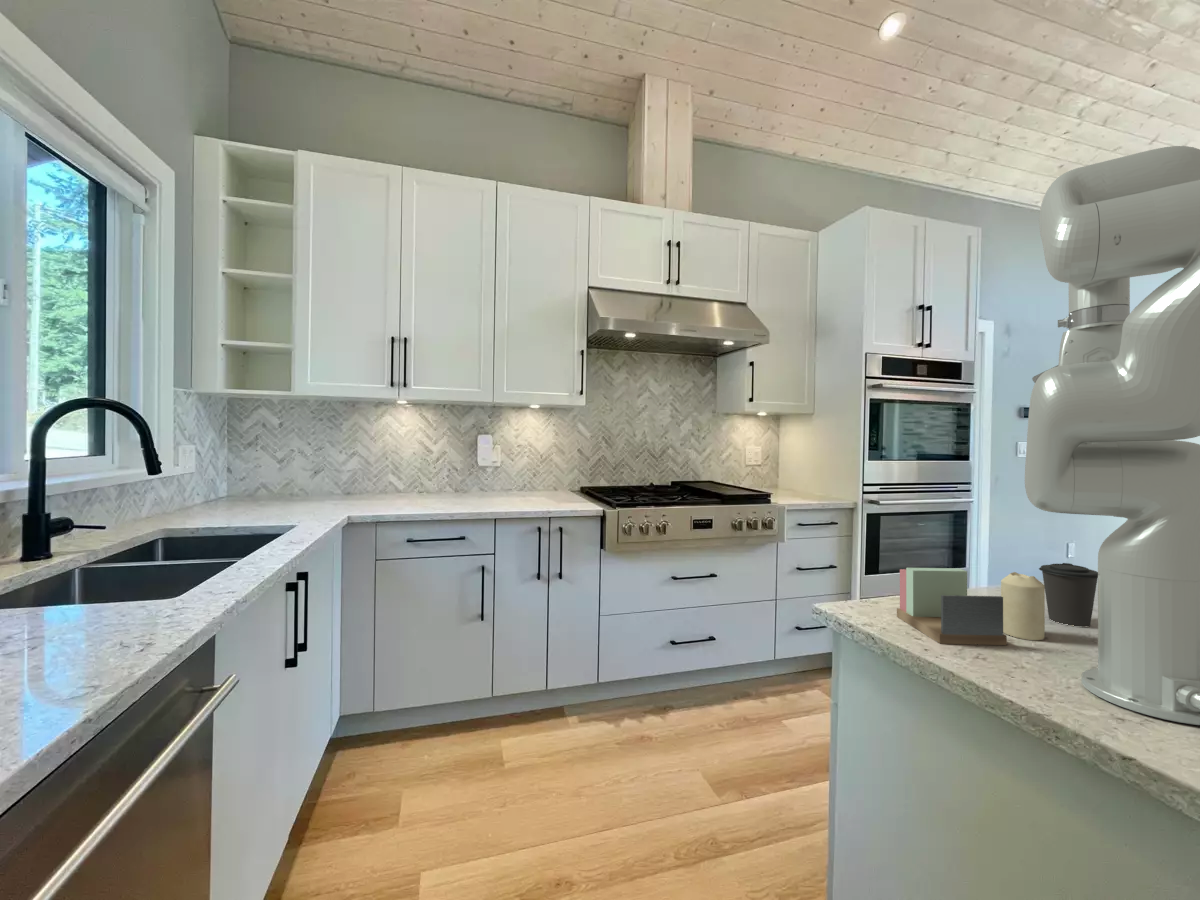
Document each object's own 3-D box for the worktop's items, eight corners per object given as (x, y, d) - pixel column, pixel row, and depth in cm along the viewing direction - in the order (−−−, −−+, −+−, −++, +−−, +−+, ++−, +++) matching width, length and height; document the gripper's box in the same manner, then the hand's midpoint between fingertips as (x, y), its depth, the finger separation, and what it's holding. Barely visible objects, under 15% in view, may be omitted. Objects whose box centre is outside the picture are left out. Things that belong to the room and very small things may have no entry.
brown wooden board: (1006, 645, 79) (1006, 635, 79) (939, 643, 79) (939, 634, 79) (953, 617, 92) (953, 609, 92) (896, 616, 92) (896, 608, 92)
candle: (1052, 638, 82) (1052, 576, 82) (1031, 642, 80) (1031, 579, 80) (1014, 627, 87) (1013, 568, 87) (993, 631, 85) (993, 571, 85)
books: (967, 617, 87) (967, 571, 87) (913, 616, 88) (913, 570, 88) (951, 609, 92) (951, 565, 92) (899, 608, 92) (899, 564, 92)
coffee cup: (1074, 615, 93) (1074, 561, 93) (1115, 630, 85) (1115, 571, 85) (1027, 613, 94) (1027, 560, 94) (1063, 629, 86) (1062, 570, 86)
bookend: (1003, 635, 79) (1003, 597, 79) (943, 634, 79) (943, 596, 79) (1000, 634, 79) (1000, 596, 79) (941, 633, 80) (941, 595, 80)
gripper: (1030, 326, 90) (1030, 421, 90) (1177, 306, 78) (1177, 417, 78) (1033, 333, 96) (1034, 423, 96) (1171, 316, 84) (1171, 419, 84)
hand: (1098, 420), depth 87 cm, fingers open, 9 cm apart
